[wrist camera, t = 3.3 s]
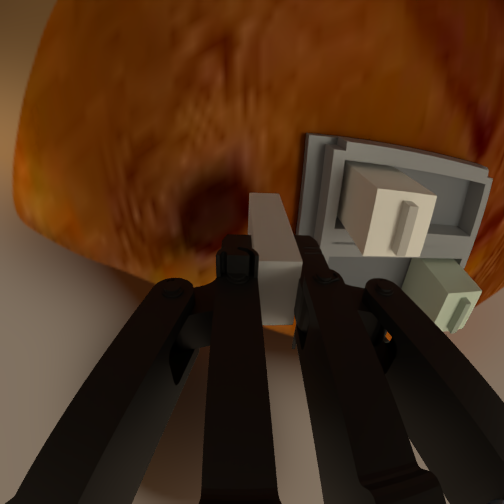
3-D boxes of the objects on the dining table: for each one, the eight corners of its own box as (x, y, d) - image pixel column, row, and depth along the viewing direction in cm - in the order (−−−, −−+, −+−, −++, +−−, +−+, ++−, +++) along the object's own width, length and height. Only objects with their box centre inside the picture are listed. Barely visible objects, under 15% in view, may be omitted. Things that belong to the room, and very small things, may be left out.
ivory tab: (342, 160, 19) (384, 193, 13) (393, 166, 19) (444, 201, 14) (335, 213, 21) (367, 263, 15) (383, 216, 21) (425, 264, 16)
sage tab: (414, 251, 23) (453, 300, 17) (447, 252, 23) (487, 297, 17) (401, 288, 25) (432, 340, 19) (433, 287, 25) (466, 334, 20)
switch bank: (306, 131, 19) (316, 138, 17) (481, 163, 20) (502, 174, 18) (287, 296, 27) (292, 319, 24) (440, 291, 27) (453, 309, 25)
